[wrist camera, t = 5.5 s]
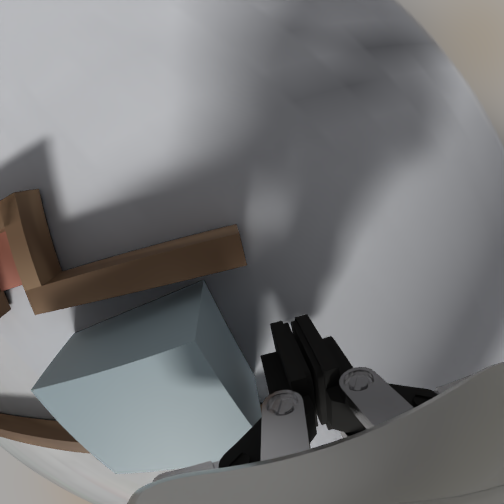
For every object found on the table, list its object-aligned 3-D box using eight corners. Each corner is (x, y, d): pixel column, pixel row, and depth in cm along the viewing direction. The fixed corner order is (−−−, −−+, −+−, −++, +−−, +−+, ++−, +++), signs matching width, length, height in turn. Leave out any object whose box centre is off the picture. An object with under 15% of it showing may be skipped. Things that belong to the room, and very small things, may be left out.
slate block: (254, 375, 14) (268, 448, 9) (132, 410, 14) (115, 473, 9) (203, 279, 12) (194, 340, 8) (74, 333, 12) (30, 390, 8)
